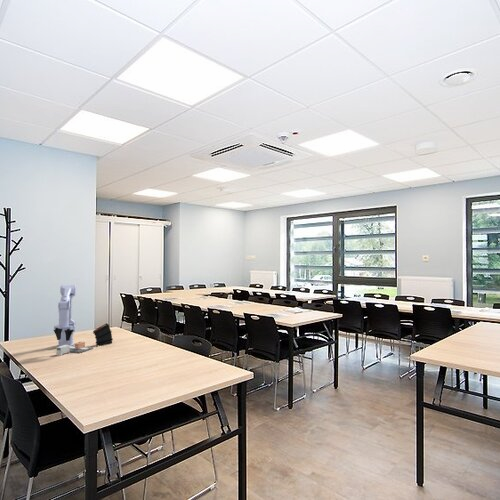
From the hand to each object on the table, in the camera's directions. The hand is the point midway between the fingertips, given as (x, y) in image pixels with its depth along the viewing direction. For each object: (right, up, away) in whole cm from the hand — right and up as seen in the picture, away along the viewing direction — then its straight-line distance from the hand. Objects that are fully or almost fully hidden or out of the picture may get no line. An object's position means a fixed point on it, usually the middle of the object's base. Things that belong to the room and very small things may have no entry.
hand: (63, 340), depth 235 cm
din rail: (+3, -9, +10) cm, 14 cm away
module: (0, -9, 0) cm, 9 cm away
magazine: (+15, -10, +27) cm, 33 cm away
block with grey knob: (+7, -8, +9) cm, 14 cm away
